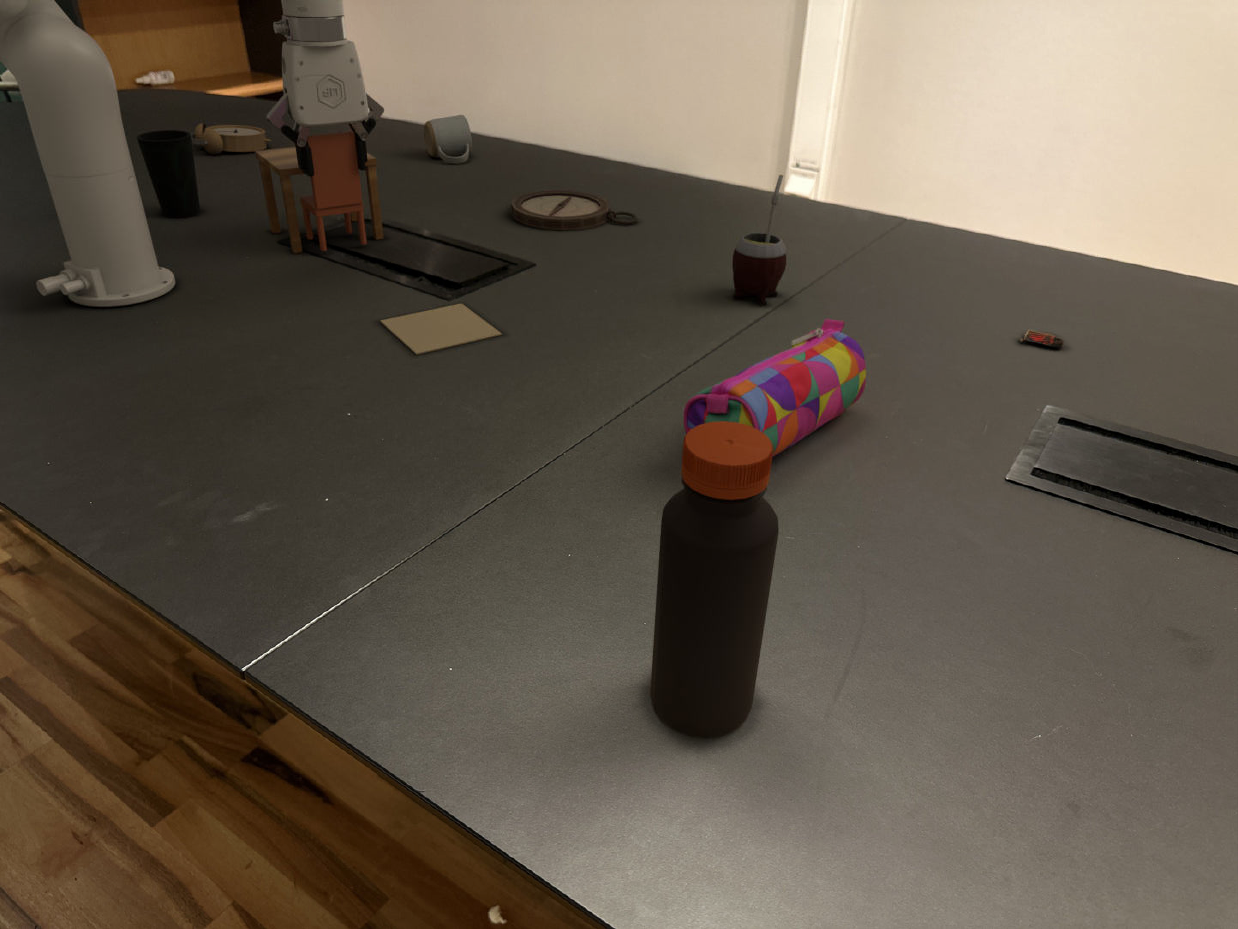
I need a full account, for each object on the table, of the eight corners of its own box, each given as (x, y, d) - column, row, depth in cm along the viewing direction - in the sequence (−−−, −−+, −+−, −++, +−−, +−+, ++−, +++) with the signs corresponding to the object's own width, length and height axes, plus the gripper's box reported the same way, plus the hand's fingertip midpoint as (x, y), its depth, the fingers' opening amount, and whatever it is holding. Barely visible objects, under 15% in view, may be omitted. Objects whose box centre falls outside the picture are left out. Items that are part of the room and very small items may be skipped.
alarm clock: (274, 135, 180) (194, 128, 171) (274, 160, 182) (195, 155, 173) (256, 124, 187) (178, 118, 178) (256, 149, 189) (179, 143, 180)
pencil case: (788, 383, 100) (799, 307, 95) (866, 411, 95) (882, 332, 90) (672, 460, 85) (678, 375, 80) (757, 498, 80) (769, 409, 75)
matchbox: (1065, 350, 109) (1067, 346, 109) (1021, 344, 110) (1022, 341, 110) (1060, 335, 113) (1061, 332, 113) (1017, 330, 114) (1018, 326, 114)
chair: (368, 244, 133) (355, 132, 125) (322, 252, 130) (305, 136, 121) (351, 231, 138) (337, 122, 130) (305, 238, 135) (288, 126, 126)
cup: (215, 207, 148) (199, 131, 142) (192, 220, 142) (174, 142, 135) (171, 204, 149) (153, 128, 142) (145, 218, 142) (126, 139, 136)
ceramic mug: (423, 153, 182) (420, 113, 178) (462, 150, 186) (460, 111, 181) (438, 166, 175) (435, 125, 170) (479, 163, 178) (477, 122, 174)
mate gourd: (740, 308, 118) (753, 193, 110) (719, 286, 124) (729, 176, 116) (792, 304, 120) (808, 190, 112) (769, 283, 126) (782, 174, 118)
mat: (501, 334, 108) (501, 333, 108) (416, 354, 103) (416, 353, 103) (461, 304, 116) (461, 303, 116) (380, 321, 111) (380, 320, 111)
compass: (489, 212, 150) (488, 200, 149) (560, 195, 160) (560, 183, 159) (573, 242, 138) (573, 229, 137) (644, 221, 148) (645, 209, 147)
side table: (385, 238, 137) (376, 158, 131) (293, 253, 130) (279, 169, 124) (357, 218, 145) (347, 141, 139) (269, 231, 139) (254, 150, 132)
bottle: (743, 663, 63) (778, 412, 52) (759, 740, 57) (802, 476, 46) (646, 664, 62) (661, 411, 52) (652, 741, 57) (671, 475, 46)
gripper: (255, 36, 110) (280, 185, 119) (390, 31, 118) (403, 170, 128) (239, 29, 115) (263, 172, 124) (369, 24, 123) (383, 158, 133)
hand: (334, 170), depth 126 cm, fingers closed on chair, 6 cm apart
